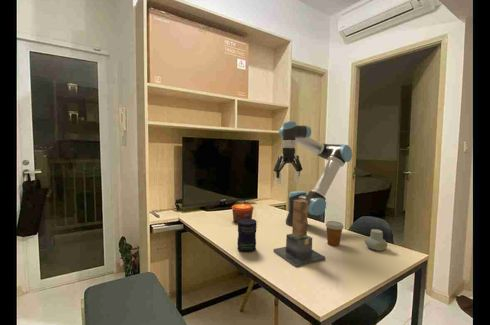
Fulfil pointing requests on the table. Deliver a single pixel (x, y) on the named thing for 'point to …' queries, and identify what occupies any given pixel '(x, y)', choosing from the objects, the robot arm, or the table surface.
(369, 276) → the table surface
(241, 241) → the storage jar
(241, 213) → the food container
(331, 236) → the disposable coffee cup
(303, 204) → the column
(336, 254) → the table surface
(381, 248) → the air freshener
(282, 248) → the grey socket base
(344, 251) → the table surface
